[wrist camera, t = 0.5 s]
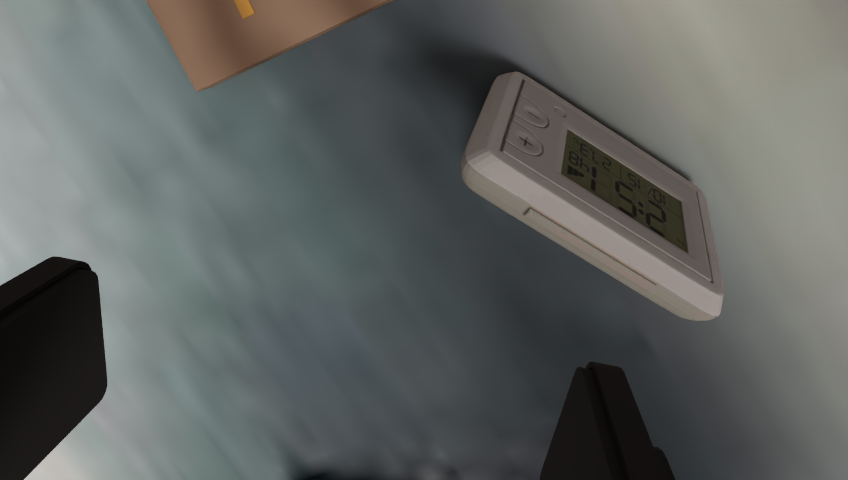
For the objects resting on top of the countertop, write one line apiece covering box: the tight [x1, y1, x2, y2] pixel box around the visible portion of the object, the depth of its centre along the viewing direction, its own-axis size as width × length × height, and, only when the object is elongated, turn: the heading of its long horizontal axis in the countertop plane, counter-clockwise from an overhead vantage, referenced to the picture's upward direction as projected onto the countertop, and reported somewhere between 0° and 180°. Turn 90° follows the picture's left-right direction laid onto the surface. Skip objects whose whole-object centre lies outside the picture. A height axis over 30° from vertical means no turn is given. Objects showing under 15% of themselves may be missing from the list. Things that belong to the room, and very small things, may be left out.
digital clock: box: [461, 72, 724, 321], centre depth 31 cm, size 16×9×11 cm, turn 48°
